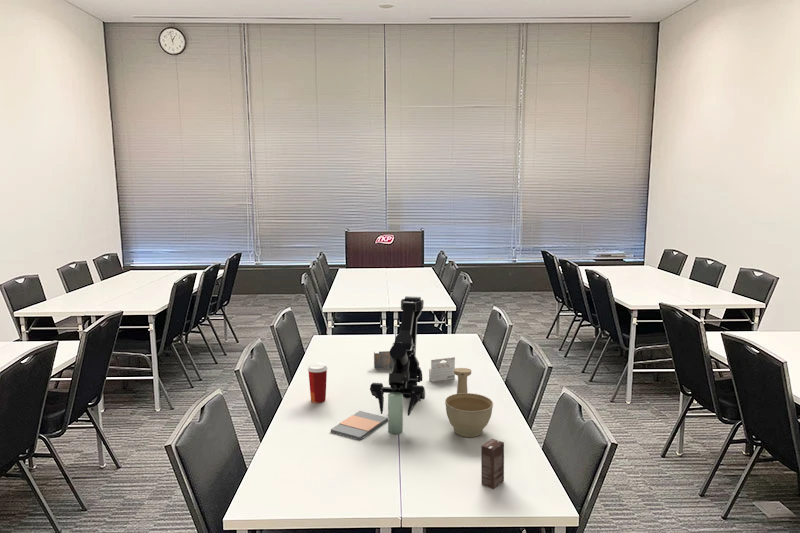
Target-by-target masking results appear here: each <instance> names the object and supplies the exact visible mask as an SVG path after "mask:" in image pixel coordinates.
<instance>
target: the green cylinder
mask: <svg viewBox="0 0 800 533" xmlns="http://www.w3.org/2000/svg"><path fill="white" fill-rule="evenodd" d="M387 394H388V395H387V406H388V407H387V417H388V420H387V432H388V433H389V434H390V435H391V434H392V435H399V434H402V433H403V432H404V431H403V430H404V422H403V421H404V418H403V417H404V397H403V394H402V393H399V392H392V393H387Z"/></svg>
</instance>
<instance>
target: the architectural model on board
mask: <svg viewBox="0 0 800 533" xmlns="http://www.w3.org/2000/svg"><path fill="white" fill-rule="evenodd" d="M373 368H374V370H382V369H385V370H386V369H388V370H389V369H393V363H392V360H391V356H390V350H389V351H388V350H387V351H386V350H385V351H378V352H375V351H373Z"/></svg>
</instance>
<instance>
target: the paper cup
mask: <svg viewBox="0 0 800 533" xmlns="http://www.w3.org/2000/svg"><path fill="white" fill-rule="evenodd" d="M307 371H308V382H309V394H310V395H309V396H310V401H311V403H313V404H321V403H324V402H325V401H326V398H327V397H326V395H327V374H328V373H327V372H328V366H327V364H325V363H321V362H314V363H311V364H309V365H308V367H307Z"/></svg>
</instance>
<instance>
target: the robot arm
mask: <svg viewBox="0 0 800 533" xmlns="http://www.w3.org/2000/svg"><path fill="white" fill-rule="evenodd" d="M424 302H425V301H424V299H422V298H421V296H405V297H404V298H402V299H401V300H400V310H401V311H402V316H401V323H400V329H399V333H398V334H397V335H396V336H395V339H394V342H392V345H391V347H390V349H389V351H390V356H391V360H392V363H393V368H392V370H391V372H389V373H388V386H384V384H383V382H372V383H371V384H370V387H369V391H370V394H371V395H372V396H373V397H374V398H375V399H377V401H378V403H379V404H378V406H379V412H380V414H381V415H382V414H383V413H384V401H385V400H384V399H385V398H384V393H385V394H386V393H387V394H389V393H392V392H399V393H402V394H403V399H409V403H408V408H407V416H408V417H409V416H410V414H411V413H412V411H413V409H414V407H415V406H416V405H417V403H418V402H421V401H422V400H425V398H426V389H425V386H423V385H418V383H421V382H423V370H422V369H421V366H420V362H419V360H418V358H417V356H416V355H417V354H416V352H417V349H416V348H417V335H418V334H417V333H418V332H417V330H418V320H419V317H420V316H421V314H422V311H423V309H424Z"/></svg>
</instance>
